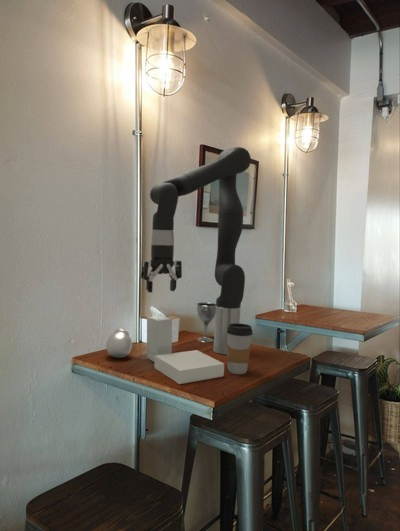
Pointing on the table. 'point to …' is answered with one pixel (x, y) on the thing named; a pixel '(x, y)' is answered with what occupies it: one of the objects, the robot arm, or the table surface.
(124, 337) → the silver egg shape
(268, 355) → the table surface
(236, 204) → the robot arm
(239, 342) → the coffee cup
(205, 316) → the wine glass
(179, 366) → the block
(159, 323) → the skincare box
